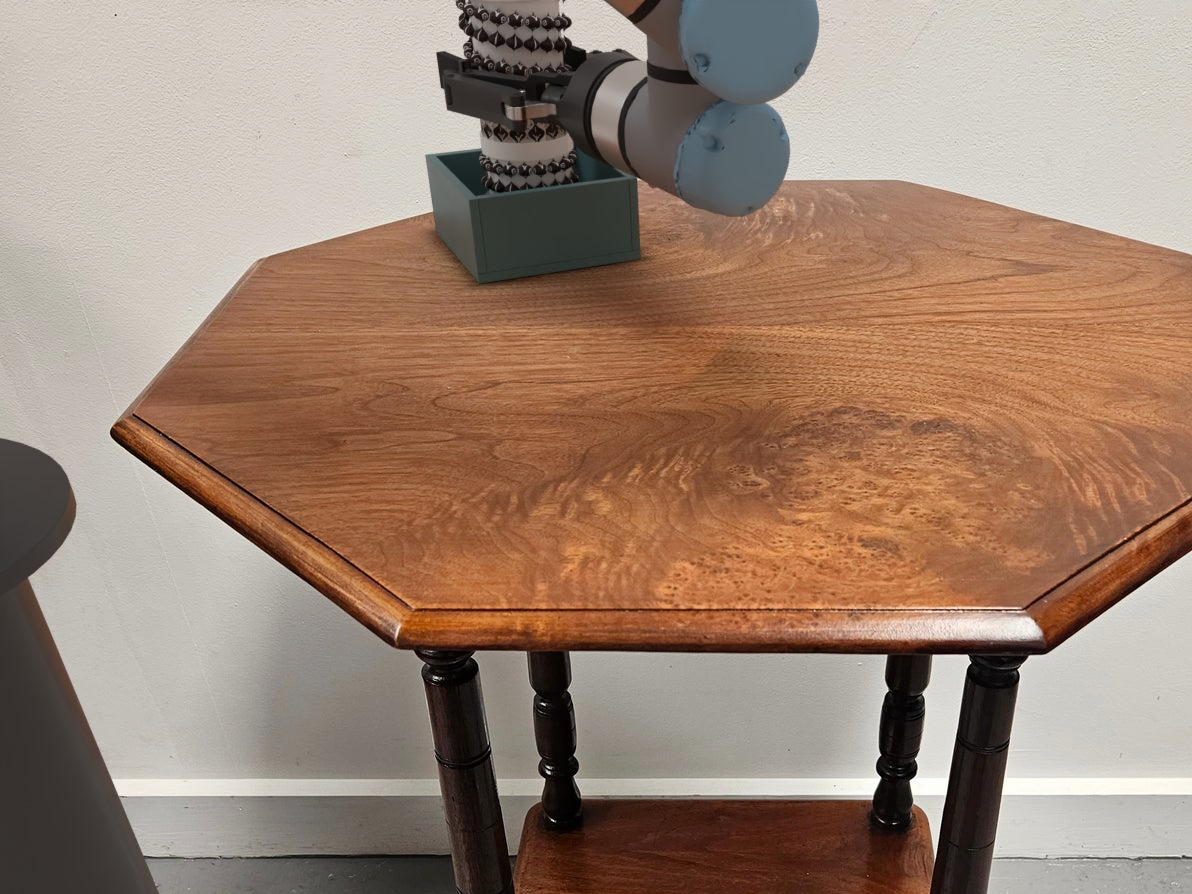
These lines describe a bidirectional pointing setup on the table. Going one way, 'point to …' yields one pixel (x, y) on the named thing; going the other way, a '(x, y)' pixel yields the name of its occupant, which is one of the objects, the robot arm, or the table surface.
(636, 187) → the bin
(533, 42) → the bracelet display cylinder
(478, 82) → the robot arm
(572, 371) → the table surface
